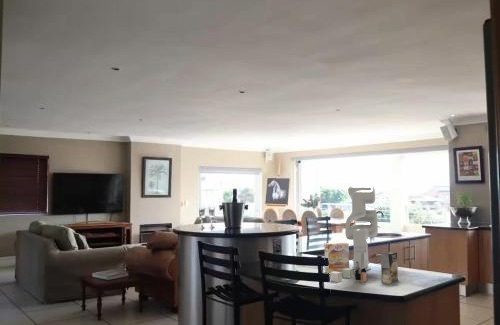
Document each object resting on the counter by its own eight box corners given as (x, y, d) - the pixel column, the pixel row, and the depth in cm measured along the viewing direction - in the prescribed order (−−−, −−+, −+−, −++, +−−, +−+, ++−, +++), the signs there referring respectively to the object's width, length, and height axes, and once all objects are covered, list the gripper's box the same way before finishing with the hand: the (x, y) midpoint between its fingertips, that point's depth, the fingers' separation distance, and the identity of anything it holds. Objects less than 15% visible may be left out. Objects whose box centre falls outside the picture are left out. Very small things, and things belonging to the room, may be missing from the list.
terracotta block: (358, 280, 258) (358, 271, 258) (366, 280, 255) (366, 272, 255) (355, 281, 254) (355, 272, 254) (363, 282, 251) (363, 273, 251)
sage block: (345, 275, 271) (345, 268, 272) (353, 276, 268) (352, 268, 269) (342, 277, 267) (342, 269, 268) (350, 278, 264) (349, 269, 265)
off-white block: (334, 279, 260) (333, 271, 260) (341, 280, 257) (341, 272, 257) (330, 281, 256) (330, 272, 256) (338, 281, 253) (337, 273, 253)
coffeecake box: (328, 274, 278) (327, 244, 280) (324, 272, 285) (323, 243, 286) (350, 273, 281) (348, 243, 282) (345, 271, 288) (344, 242, 289)
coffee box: (391, 281, 251) (390, 254, 253) (381, 280, 256) (380, 253, 257) (398, 279, 258) (397, 252, 259) (388, 277, 262) (387, 251, 264)
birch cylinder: (384, 282, 250) (383, 273, 251) (392, 282, 247) (392, 274, 248) (381, 283, 246) (380, 274, 247) (389, 284, 243) (389, 275, 244)
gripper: (359, 247, 265) (360, 275, 263) (348, 250, 251) (349, 280, 250) (371, 248, 260) (372, 277, 259) (360, 251, 247) (361, 281, 245)
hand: (361, 278), depth 254 cm, fingers open, 8 cm apart
